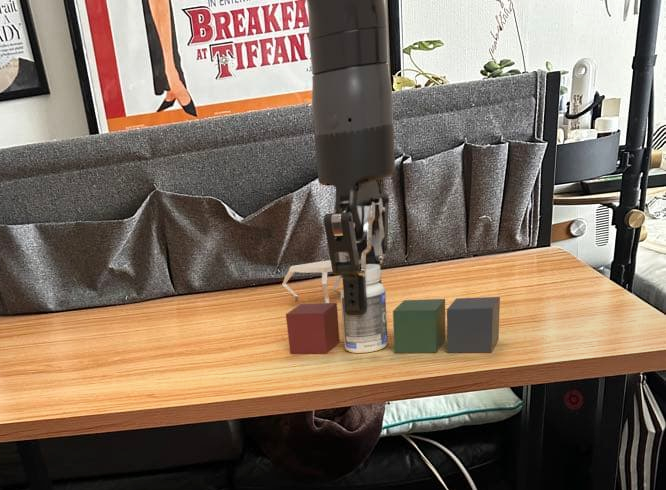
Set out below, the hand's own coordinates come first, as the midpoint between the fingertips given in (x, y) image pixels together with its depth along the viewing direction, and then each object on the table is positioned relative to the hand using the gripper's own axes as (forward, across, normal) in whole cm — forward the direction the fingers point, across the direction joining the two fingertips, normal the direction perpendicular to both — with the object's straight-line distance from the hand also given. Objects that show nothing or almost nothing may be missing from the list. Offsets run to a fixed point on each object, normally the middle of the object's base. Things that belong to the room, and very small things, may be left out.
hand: (364, 306), depth 77 cm
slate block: (+4, 0, -11) cm, 12 cm away
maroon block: (+4, 0, +6) cm, 7 cm away
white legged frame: (+5, +23, +14) cm, 27 cm away
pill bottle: (+5, 0, 0) cm, 5 cm away
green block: (+4, 0, -6) cm, 7 cm away
